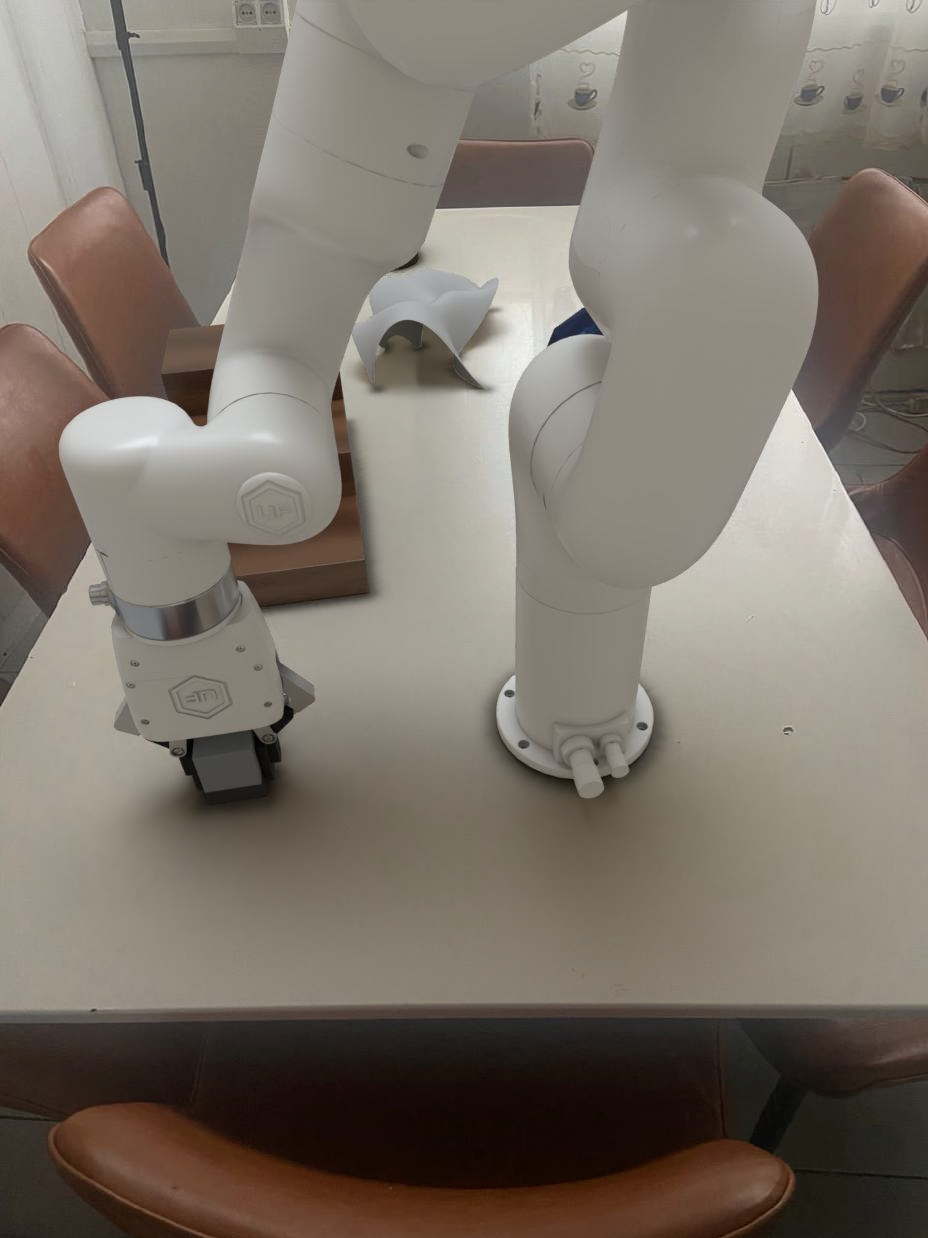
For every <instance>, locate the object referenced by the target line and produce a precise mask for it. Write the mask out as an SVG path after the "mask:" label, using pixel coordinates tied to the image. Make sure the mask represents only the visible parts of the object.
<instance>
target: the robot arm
mask: <svg viewBox="0 0 928 1238" xmlns="http://www.w3.org/2000/svg"><path fill="white" fill-rule="evenodd" d="M817 1H818V0H296V5H295V7H294V13H293V18H292V21H291V25H290V29H289V30H290V31H289V35H288V39H287V44H286V48H285V51H284V57H283V61H282V66H281V70H280V75H279V78H278V82H277V87H276V92H275V96H274V101H273V105H272V110H271V114H270V118H269V123H268V127H267V131H266V136H265V139H264V144H263V148H262V152H261V156H260V159H259V164H258V168H257V172H256V177H255V182H254V186H253V189H252V190H253V191H252V195H251V200H250V204H249V208H248V209H249V210H248V219H247V230H246V235H245V239H244V243H243V247H242V250H241V256H240V259H239V263H238V267H237V272H236V274H235V279H234V284H233V288H232V291H231V296H230V300H229V304H228V309H227V312H226V317H225V322H224V324H225V326H224V330H223V334H222V339H221V343H220V347H219V351H218V356H217V360H216V364H215V369H214V373H213V378H212V383H211V389H210V396H209V406H208V413H207V425H205V426H202V427H200V426H196V425H195V424H194V423H193V421H192V420H191V418H190V417H189V416H188V414H187V413H186V412H185V411H184V410H183V409H181V408H180V407H179V406H177V405H176V404H174V403H172V402H169V401H168V399H167V400H166V399H163V398H160V397H156V396H149V395H147V396H146V395H145V396H144V395H143V396H140V395H139V396H138V395H137V396H125V397H119V398H115V399H110V400H107V401H104V402H101V403H98V404H96V405H93V406H91V407H89V408H87V409H85V410H83V411H82V412H80V413H79V414H77V415H76V416H74V417H73V418H72V419H71V421H69V423H67V425H66V426H65V427H64V429H63V430H62V432H61V435H60V438H59V441H58V456H59V461H60V464H61V467H62V470H63V473H64V477H65V479H66V481H67V483H68V486H69V489H70V491H71V494H72V497H73V498H74V501H75V504H76V506H77V509H78V512H79V515H80V517H81V518H82V521H83V523H84V526H85V529H86V532H87V534H88V536H89V539H90V542H91V544H92V546H93V549H94V552H95V554H96V557H97V559H98V561H99V564H100V566H101V569H102V572H103V574H104V577H105V580H103V581H101V582H100V583H96V584H90V585H89V586H88V597H89V602H90V603H91V605H92V606H100V605H104V606H105V607H111V608H112V609H113V610H114V611H115V612H114V616H113V618H112V621H111V626H110V627H111V638H112V646H113V651H114V657H115V662H116V665H117V671H118V674H119V677H120V681H121V685H122V688H123V689H122V690H123V693H124V697H123V699H122V701H121V702H120V705H119V706H118V708H117V710H116V712H115V717H114V722H113V728H114V729H115V730H116V731H118V732H122V733H125V734H128V735H133V736H137V737H140V736H141V737H142V738H143V739H145V740H146V741H147V742H150V743H153V744H155V745H158V746H160V747H163V748H166V749H168V751H169V755H170V756H171V757H174V758H178V760H179V762H180V765H181V767H182V770H183V773H184V775H185V776H186V777H189V776H191V777H192V780H193V782H194V785H195V788H196V790H197V791H204V789H203V786H202V783H201V781H200V778H199V775H198V773H197V770H196V767H195V765H194V762H193V760H192V755H193V743H194V738H198V737H205V736H212V735H219V734H226V733H232V732H239V731H245V730H251V729H253V731H254V732H255V749H256V753H257V756H258V760H259V763H260V766H261V770H262V773H263V775H264V778H265V779H266V778H267V781H270V780H274V779H275V764H276V763H281V762H282V748H281V747H282V746H281V743H280V739H279V736H278V734H279V733H280V732H281V731H282V730H283V729H284V728H285V727H286V726H287V725H288V724H290V723H291V721H292V720H293V719H294V716H295V715H296V714H297V713H301V712H302V711H304V710H305V709H306V708H308V707H309V706H310V705H312V704H313V703H314V702H315V700H316V694H315V693H316V691H315V690H316V689H315V685H314V684H313V683H312V682H310V681H309V680H307V679H306V678H304V677H303V676H301V675H300V674H298V673H297V672H295V671H294V670H292V669H291V668H289V667H288V666H286V664H283V662H281V659H280V655H279V652H278V650H277V647H276V643H275V640H274V637H273V636H272V635H273V634H272V633H271V630H270V627H269V625H268V622H267V620H266V618H265V616H264V613H263V611H262V609H261V607H259V605H258V603H257V601H256V600H255V598H254V596H253V594H252V592H251V591H250V589H249V588H248V586H247V585H246V584H245V583H244V582H243V581H239V580H237V578H236V574H235V570H234V566H233V563H232V559H231V555H230V552H229V549H228V545H227V542H229V543H241V544H254V545H283V544H291V543H296V542H300V541H304V540H306V539H309V538H311V537H313V536H315V535H317V534H318V533H320V532H321V531H322V530H324V529H325V528H326V527H327V526H328V525H329V524H330V522H331V521H332V520H333V518H334V517H335V515H336V513H337V510H338V508H339V505H340V500H341V492H342V482H341V472H340V466H339V459H338V452H337V446H336V441H335V435H334V427H333V421H332V412H331V401H332V395H333V391H334V387H335V384H336V380H337V377H338V374H339V370H340V371H341V368H342V364H343V361H344V357H345V354H346V351H347V348H348V345H349V342H350V339H351V337H352V334H351V333H352V330H353V328H354V325H355V324H356V322H357V320H358V317H359V314H360V313H361V311H362V308H363V306H364V304H365V301H366V300H367V298H368V297H369V293H370V291H371V290H372V288H373V287H374V285H375V284H376V283H377V282H378V281H379V280H380V279H383V278H384V276H386V275H387V274H388V273H390V272H392V271H394V270H397V269H396V268H399V267H401V266H403V265H404V264H406V263H407V262H409V261H410V260H411V259H412V258H413V257H414V256H415V255H416V254H417V253H418V254H419V252H420V251H421V249H422V248H423V245H424V244H425V241H426V239H427V236H428V233H429V231H430V227H431V224H432V221H433V218H434V215H435V212H436V209H437V206H438V203H439V200H440V198H441V195H442V191H443V188H444V186H445V183H446V179H447V177H448V174H449V171H450V167H451V164H452V161H453V159H454V156H455V153H456V150H457V147H458V144H459V141H460V138H461V136H462V133H463V130H464V127H465V124H466V121H467V118H468V115H469V113H470V109H471V107H472V103H473V101H474V98H475V95H476V93H477V90H478V87H479V86H480V85H482V84H486V83H489V82H492V81H495V80H498V79H501V78H503V77H506V76H509V75H511V74H513V73H515V72H517V71H520V70H522V69H523V68H525V67H527V66H529V65H531V64H534V63H535V62H537V61H539V60H542V59H544V58H546V57H548V56H549V55H552V54H553V53H555V52H557V51H559V50H561V49H563V48H564V47H567V46H568V45H570V44H571V43H573V42H575V41H577V40H578V39H581V38H582V37H584V36H586V35H588V34H590V33H591V32H593V31H595V30H597V29H599V28H601V27H602V26H603V25H605V24H607V23H609V22H610V21H612V20H613V19H615V18H617V17H619V16H620V15H622V14H624V13H626V21H625V26H624V30H623V36H622V43H621V46H620V51H619V54H618V59H617V65H616V70H615V74H614V78H613V84H612V87H611V92H610V95H609V99H608V102H607V105H606V110H605V113H604V117H603V120H602V125H601V128H600V130H599V134H598V139H597V141H596V142H597V143H596V145H595V149H594V153H593V157H592V160H591V163H590V167H589V171H588V175H587V178H586V182H585V185H584V188H583V192H582V196H581V199H580V203H579V206H578V210H577V213H576V217H575V220H574V223H573V227H572V231H571V235H570V240H569V247H568V271H569V275H570V278H571V282H572V285H573V286H572V287H573V289H574V291H575V293H576V295H577V297H578V299H579V301H580V302H581V304H582V306H583V308H584V307H585V309H586V310H587V312H588V313H589V315H590V316H591V318H592V319H593V320H594V322H595V323H596V325H597V326H598V328H599V329H600V331H601V332H602V334H603V335H604V336H602V335H594V334H584V335H576V336H570V337H568V338H565V339H562V340H559V341H557V342H555V343H553V344H551V345H550V346H548V347H547V346H546V347H547V348H546V347H545V348H543V350H541V351H540V352H539V353H538V354H537V355H535V356H534V357H533V359H531V361H530V362H529V364H527V366H526V367H525V369H524V370H523V372H522V374H521V375H520V376H519V379H518V381H517V383H516V386H515V388H514V391H513V394H512V397H511V401H510V406H509V412H508V425H507V426H508V429H507V431H508V433H507V434H508V449H509V460H510V461H509V462H510V470H511V480H512V491H513V502H514V515H515V516H514V517H515V518H514V519H515V560H516V561H515V629H514V630H515V631H514V633H515V635H514V636H515V637H514V638H515V640H514V641H515V645H514V646H515V649H514V651H515V658H514V659H515V661H514V662H515V663H514V665H515V666H514V667H515V668H514V669H515V671H514V674H513V675H511V676H510V677H509V679H508V680H507V681H506V682H505V684H504V685H503V686H502V689H501V690H500V692H499V694H498V698H497V701H496V706H495V707H496V708H495V710H496V711H495V718H496V727H497V731H498V733H499V736H500V738H501V741H502V742H503V744H504V745H505V746H506V748H507V749H508V751H509V752H510V753H512V755H514V757H516V758H517V759H518V760H519V761H520V762H522V763H524V764H525V765H527V767H529V768H531V769H534V770H536V771H538V772H540V773H542V774H545V775H549V776H553V777H556V778H560V779H571V780H573V782H574V785H575V788H576V791H577V794H578V795H579V797H580V798H583V799H593V798H596V797H598V796H600V795H601V794H602V793H603V792H604V790H605V785H604V782H603V780H602V777H606V776H609V775H611V777H613V778H615V779H620V778H624V777H626V776H627V775H628V774H629V772H630V767H629V765H631V764H633V763H634V762H635V761H636V760H637V759H638V758H640V756H641V755H642V754H643V753H644V751H645V750H646V748H647V747H648V745H649V743H650V739H651V737H652V735H653V728H654V721H655V720H654V718H655V717H654V707H653V704H652V701H651V698H650V697H649V694H648V693H647V692H646V690H645V688H644V687H643V686H642V685H641V684H640V676H641V669H642V662H643V655H644V654H643V653H644V647H645V640H646V634H647V633H646V632H647V625H648V619H649V609H650V604H651V596H652V587H656V586H659V585H662V584H664V583H667V582H669V581H671V580H673V579H676V578H677V577H678V576H680V575H682V574H683V573H684V572H686V571H687V570H689V569H691V567H692V566H694V565H695V564H696V563H697V562H698V561H699V560H700V559H701V558H702V557H703V556H704V555H706V553H707V552H708V551H709V550H710V548H711V547H712V546H713V545H714V544H715V542H716V541H717V540H718V538H719V537H720V535H721V534H722V532H723V530H724V529H725V527H726V526H727V524H728V522H729V521H730V519H731V517H732V515H733V514H734V511H735V510H736V508H737V506H738V503H739V502H740V500H741V497H742V495H743V494H744V491H745V489H746V488H747V485H748V482H749V481H750V478H751V476H752V474H753V472H754V470H755V468H756V466H757V463H758V462H759V460H760V457H761V455H762V454H763V451H764V449H765V447H766V445H767V442H768V440H769V438H770V436H771V434H772V432H773V430H774V428H775V425H776V424H777V421H778V419H779V417H780V415H781V413H782V410H783V408H784V406H785V405H786V402H787V400H788V397H789V395H790V394H791V391H792V389H793V387H794V385H795V382H796V380H797V378H798V376H799V373H800V372H801V369H802V366H803V364H804V362H805V360H806V357H807V354H808V352H809V349H810V346H811V343H812V340H813V336H814V331H815V327H816V323H817V315H818V306H819V277H818V271H817V270H818V269H817V266H816V261H815V257H814V255H813V252H812V249H811V247H810V245H809V243H808V241H807V239H806V237H805V235H804V234H803V233H802V231H801V230H800V228H799V227H798V226H797V225H796V223H795V222H794V221H793V220H792V218H791V217H790V216H788V214H786V213H785V212H784V211H783V210H782V209H780V207H778V206H777V205H775V204H774V203H773V202H771V201H770V200H769V199H767V198H766V197H764V196H763V189H764V187H765V181H766V177H767V174H768V170H769V168H770V164H771V162H772V158H773V154H774V153H775V149H776V146H777V144H778V140H779V138H780V135H781V133H782V128H783V125H784V123H785V120H786V116H787V113H788V110H789V107H790V103H791V100H792V97H793V94H794V92H795V88H796V86H797V83H798V82H797V81H798V80H799V77H800V74H801V71H802V67H803V64H804V60H805V57H806V54H807V50H808V46H809V42H810V39H811V34H812V29H813V25H814V20H815V13H816V7H817Z"/></svg>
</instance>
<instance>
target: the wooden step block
mask: <svg viewBox="0 0 928 1238" xmlns="http://www.w3.org/2000/svg"><path fill="white" fill-rule="evenodd" d="M224 326H225V323H221V324H212V325H211V324H210V325H202V326H192V327H191V326H190V327H181V328H173V329H172V328H171V329H169V330H168V336H167V340H166V345H165V346H166V347H165V350H164V356H163V361H162V365H161V371H160V377H161V380H162V384H163V387H164V391H165V395H166V398H167V401H169V402H172V403H174V404H176V405H177V406H179V407H180V408H181V409H183V410H184V411H185V412H186V413H187V414H188V416H189V417H190V418H191V420H192V421H193V423H194V424H195V425H196V426H200V427H202V426H205V425H207V413H208V406H209V396H210V389H211V383H212V378H213V373H214V369H215V364H216V360H217V356H218V351H219V347H220V343H221V339H222V334H223V330H224ZM331 412H332V421H333V427H334V435H335V441H336V446H337V452H338V459H339V466H340V472H341V482H342V492H341V500H340V505H339V508H338V510H337V513H336V515H335V517H334V518H333V520H332V521H331V522H330V524H329V525H328V526H327V527H326V528H325V529H324V530H322V531H321V532H320V533H318V534H317V535H315V536H313V537H311V538H309V539H306V540H304V541H300V542H296V543H291V544H283V545H254V544H241V543H229V542H227V545H228V549H229V552H230V555H231V559H232V563H233V566H234V570H235V574H236V578H237V580H239V581H243V582H244V583H245V584H246V585H247V586H248V588H249V589H250V591H251V592H252V594H253V596H254V598H255V600H256V601H257V603H258V605H259V607H260V608H261V607H268V606H276V605H282V604H283V605H284V604H291V603H298V602H305V601H312V600H313V601H314V600H322V599H328V598H336V597H337V598H338V597H344V596H350V595H358V594H365V593H370V583H369V575H368V569H367V561H366V555H365V546H364V538H363V531H362V523H361V518H360V517H361V516H360V509H359V501H358V494H357V486H356V478H355V472H354V464H353V457H352V449H351V441H350V435H349V427H348V420H347V419H348V418H347V413H346V406H345V398H344V391H343V384H342V377H341V369H340V370H339V374H338V377H337V380H336V384H335V387H334V391H333V395H332V401H331Z"/></svg>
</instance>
